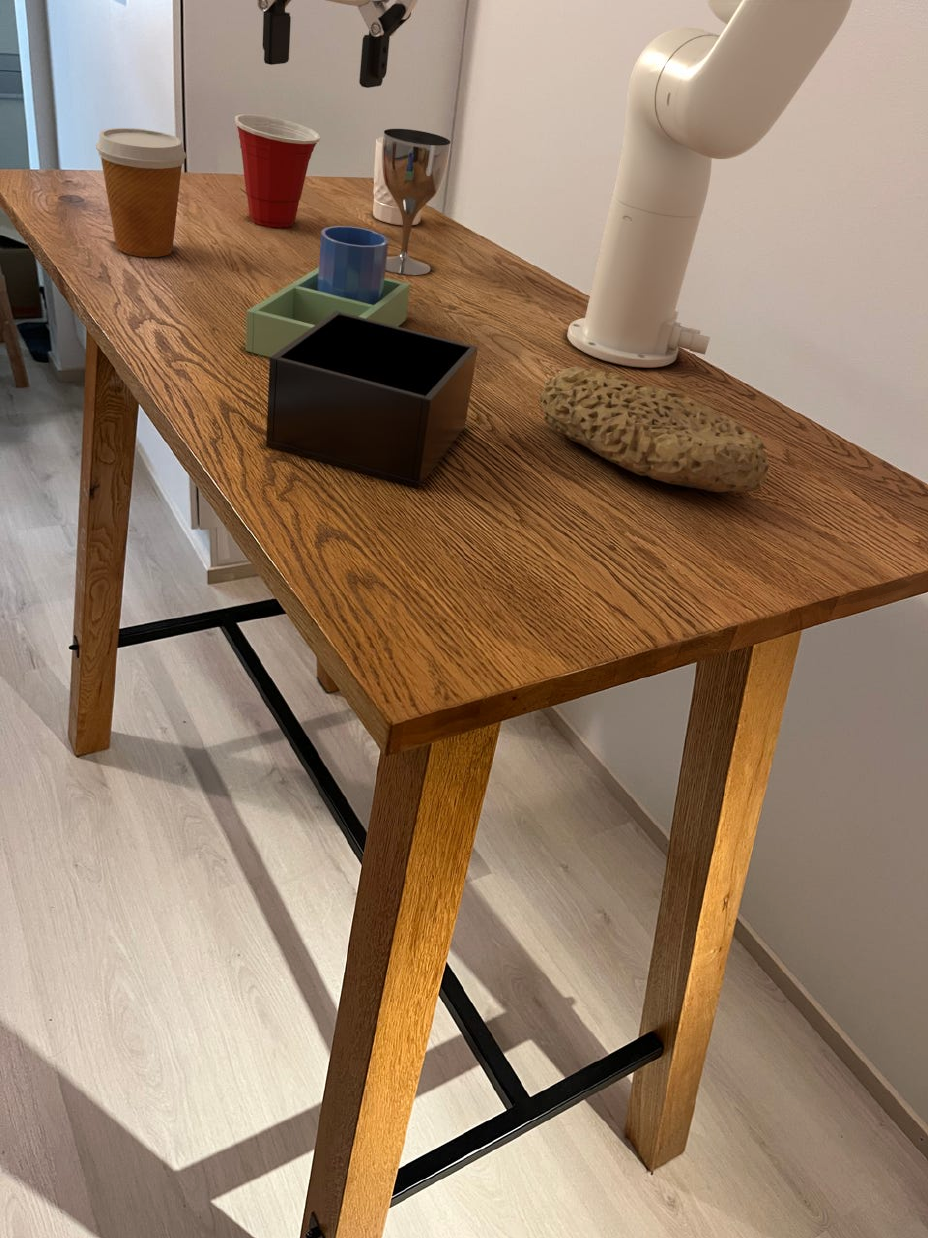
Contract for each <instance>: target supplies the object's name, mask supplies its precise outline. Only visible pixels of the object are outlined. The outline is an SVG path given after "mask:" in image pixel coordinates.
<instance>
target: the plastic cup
mask: <svg viewBox="0 0 928 1238" xmlns="http://www.w3.org/2000/svg"><path fill="white" fill-rule="evenodd" d="M234 124H235V125H236V128H237V132H238V139H239V147H240V148H239V149H240V151H241V160H242V169H243V177H244V186H245V194H246V198H247V205H248V214H249V217H250V221H251V222H253V223H254V224H257V225H260V226H264V227H269V228H289V227H293V225H295V220H296V218H297V213H298V208H299V205H300V204H299V202H300V200H301V198H302V193H303V190H304V185H305V181H306V176H307V171H308V167H309V165H310V164H309V163H310V160H311V158H312V155H313V152H314V149H315V147H316V145H317V144H318V143H319V142H320V140H321V137H320V136H321V135H320V133H318V132H317V131H315V130H314V129H312V128H310V127H307V126H305V125H302V124H300V123H296V122H293V121H290V120H288V119H287V120H286V119H282V118H278V117H273V116H268V115H262V114H253V113H252V114H247V113H246V114H242V113H241V114H238V115H234Z"/></svg>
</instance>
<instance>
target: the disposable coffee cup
mask: <svg viewBox="0 0 928 1238" xmlns="http://www.w3.org/2000/svg"><path fill="white" fill-rule="evenodd" d="M95 149H96V150H97V151H98V156H99V157H100V160H101V166H102V171H103V177H104V178H103V179H104V183H105V191H106V196H107V202H108V207H109V214H110V220H111V225H112V230H113V237H114V242H115V243H114V244H115V248H116V249H117V250H118V251H120V252H122V253H124V254H127V255H130V256H135V257H141V258H159V257H165V256H168V255H170V254H171V253H173V250H174V249H173V248H174V240H175V232H176V231H175V230H176V222H177V214H178V213H177V212H178V204H179V194H180V185H181V178H182V177H181V176H182V167H183V164H184V163H185V159H186V158H187V153H186V152H185V151H184V147H183V143H182V140H181V139H180V138H179V137H177V136H174V135H172V134H169V133H165V132H162V131H158V130H151V129H145V128H136V127H135V128H132V127H114V128H113V127H111V128H107V129H103V130H101V131H100V132H99V135H98V141H97V142H96V143H95Z"/></svg>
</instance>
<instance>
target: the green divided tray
mask: <svg viewBox="0 0 928 1238" xmlns="http://www.w3.org/2000/svg"><path fill="white" fill-rule="evenodd" d="M318 273H319V266H318V267H317V268H315V269H314V270H312V271H310V272H308V273H307V274H305V275H304V276H302V277H300V278H299V279H297V280H294V281H293V282H292V283H290V284H289V285H287V286H285V287H284V288H282V289H280V290H279V291H277V292H275V293H273V294H272V295H271V296H269V297H267V298H265V299H264V300H262V301H260V302H259V303H257V304H255V305H254V306H252V307H251V308H248V309H247V310H246V321H245V322H246V323H245V324H246V327H245V352H249V353H252V354H256V355H259V356H263V357H266V358H270V357H272V356H273V355H274V354H276V353H277V352H279V351H280V350H281V349H283V348H284V347H286V346H287V345H288V344H290V343H291V342H293V341H294V340H295V339H297V338H298V337H300V336H301V335H302V334H304V333H305V332H307V331H308V330H309V329H311V328H312V327H314V326H315V325H316V324H318V323H319V322H321V321H322V320H323V319H325V318H326V317H328V316H329V315H330V314H332V313H333V312H335V311H338V312H341V313H346V314H350V315H354V316H358V317H361V318H365V319H369V320H373V321H377V322H381V323H385V324H389V325H393V326H397V327H400V325H402V324H403V323H404V322H406V320H407V314H408V305H409V298H410V290H411V284H410V283H407V282H403V281H400V280H396V279H392V278H387V277H385V279H384V289H383V298H382V299H381V300H380V301H379V302H377V303H376V304H375V305H371V304H367V303H363V302H359V301H355V300H351V299H347V298H344V297H340V296H336V295H332V294H328V293H324V292H320V291H317V288H318Z"/></svg>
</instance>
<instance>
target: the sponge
mask: <svg viewBox="0 0 928 1238" xmlns="http://www.w3.org/2000/svg"><path fill="white" fill-rule="evenodd" d="M544 384H545V386H544V388H543V389H542V391H541V393H540V404H541V408H542V412H543V414H544V416H543V418H544V419H545V421H546V422H547V423H548V424H550V425H551V427H552V428H553V429H554V430H555V431H557V432H558V433H560V434H562V435H564V436H565V437H567V438H568V439H569V440H570V441H572V442H574V443H577V444H578V443H579V444H580V445H582V446H583V447H586V448H587V449H589V450H590V451H592V453H594V454H597V455H599V456H600V457H601V458H604V459H605V460H607V461H609V462H611V463H613V464H615V465H618V466H619V467H621V468H623V469H625V470H627V471H628V472H631V473H634V474H636V475H639V476H641V477H644V476H645V477H646V476H648V478H649V479H652V480H656V481H659V482H663V483H664V484H668V485H669V484H670V485H676V486H682V487H686V488H694V489H699V490H704V491H708V492H713V493H725V492H733V493H750V492H757V491H759V490H760V489H761V488H762V486H763V485H764V482H765V481H766V480H767V478H768V472H769V471H768V470H769V467H770V465H771V463H770V462H769V461H768V460H767V458H768V452H767V451H766V449H767V447H766V446H765V445H764V443H763V441H762V439H761V438H760V437H759V436H758V435H756V434H755V433H752V432H751V431H749V430H748V429H747V428H745V427H744V426H743V425H742V424H741V422H740V423H738V422H736V421H735V420H733V419H731V418H729V417H728V416H726V415H724V414H723V413H721V412H718V411H716V410H715V409H713V408H711V407H710V406H708V405H706V404H705V403H703V402H701V401H699V400H696V399H693V398H691V397H689V396H687V395H685V394H682V393H681V392H678V391H677V392H675V391H672V390H668V389H664V388H661V387H658V386H654V385H647V384H634V383H633V382H630V381H627V380H626V378H625V376H622V374H619V373H616V372H610V373H606V371H599V370H596V369H592V368H589V367H587V368H585V367H581V366H579V365H574V366H571V367H569V368H562V370H561V373H557V374H555V376H554V377H553V378H552V377H551V376H549V377H548V378H547V379H546V381H545V382H544Z"/></svg>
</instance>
